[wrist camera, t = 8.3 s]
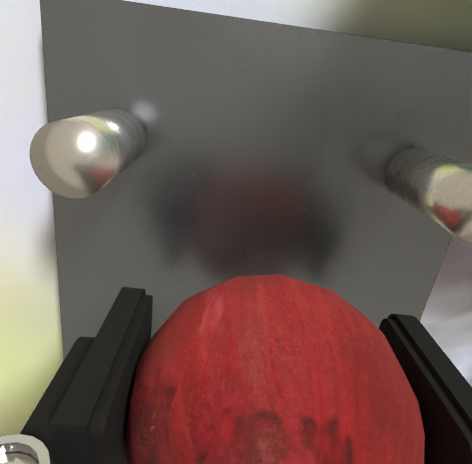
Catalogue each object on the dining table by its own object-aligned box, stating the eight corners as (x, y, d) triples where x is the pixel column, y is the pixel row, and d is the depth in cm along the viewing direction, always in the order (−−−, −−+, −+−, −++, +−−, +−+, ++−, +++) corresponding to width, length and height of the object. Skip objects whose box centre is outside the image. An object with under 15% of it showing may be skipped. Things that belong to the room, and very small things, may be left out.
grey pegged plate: (490, 61, 11) (656, 47, 7) (359, 431, 17) (403, 548, 13) (59, -2, 10) (-64, -64, 6) (79, 410, 16) (25, 528, 12)
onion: (126, 327, 11) (-73, 792, 4) (238, 183, 10) (262, 521, 2) (271, 409, 13) (327, 865, 5) (391, 295, 11) (722, 734, 4)
